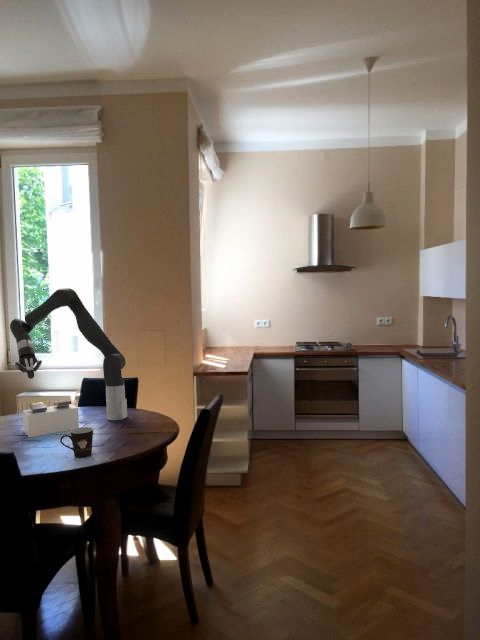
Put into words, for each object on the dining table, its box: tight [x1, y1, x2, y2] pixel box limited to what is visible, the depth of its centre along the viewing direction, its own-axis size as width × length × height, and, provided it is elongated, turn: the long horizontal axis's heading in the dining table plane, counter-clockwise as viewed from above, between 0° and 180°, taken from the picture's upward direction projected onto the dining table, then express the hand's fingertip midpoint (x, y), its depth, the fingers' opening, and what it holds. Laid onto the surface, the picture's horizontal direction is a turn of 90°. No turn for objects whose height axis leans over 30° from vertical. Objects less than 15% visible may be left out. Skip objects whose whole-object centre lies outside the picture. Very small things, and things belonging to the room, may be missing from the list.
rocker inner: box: [53, 400, 72, 406], centre depth 225 cm, size 6×8×2 cm
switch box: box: [22, 403, 80, 438], centre depth 223 cm, size 22×12×11 cm, turn 125°
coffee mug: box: [59, 426, 94, 459], centre depth 185 cm, size 12×9×10 cm
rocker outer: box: [28, 401, 48, 412], centre depth 219 cm, size 6×8×2 cm
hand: (31, 377), depth 231 cm, fingers closed
